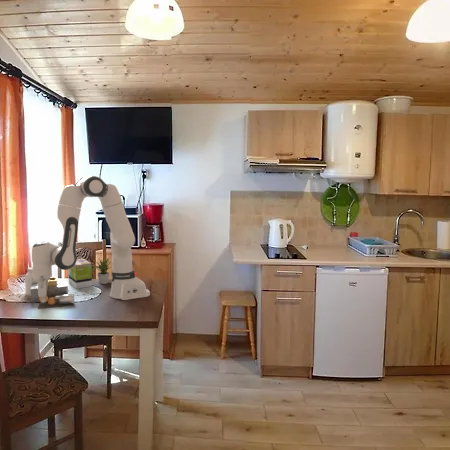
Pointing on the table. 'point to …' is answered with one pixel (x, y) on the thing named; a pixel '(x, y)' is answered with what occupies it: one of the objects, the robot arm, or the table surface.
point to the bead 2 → (51, 301)
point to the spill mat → (46, 305)
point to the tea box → (81, 274)
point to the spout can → (65, 299)
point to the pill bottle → (29, 281)
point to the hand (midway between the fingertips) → (43, 300)
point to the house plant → (103, 271)
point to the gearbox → (50, 289)
